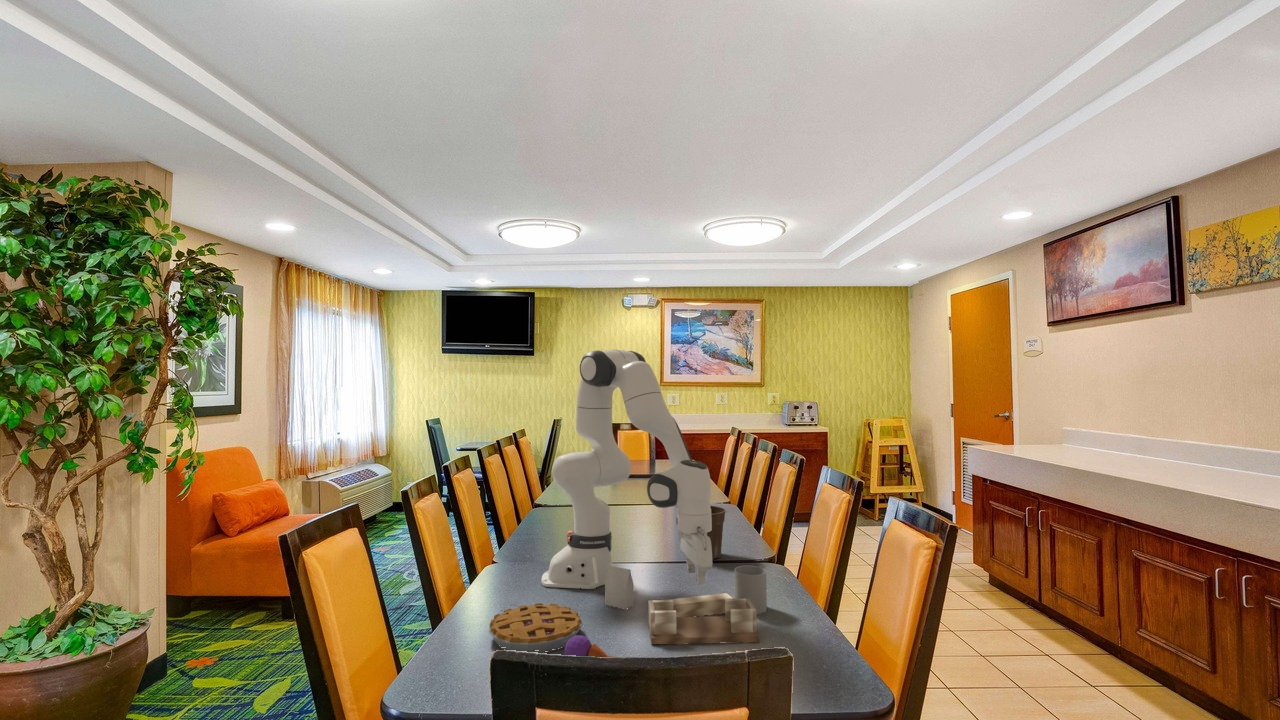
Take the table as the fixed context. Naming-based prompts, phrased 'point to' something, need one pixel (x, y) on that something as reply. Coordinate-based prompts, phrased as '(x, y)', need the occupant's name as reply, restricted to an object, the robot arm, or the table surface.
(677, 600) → the slat
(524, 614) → the pie
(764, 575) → the cup
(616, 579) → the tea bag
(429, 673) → the table surface
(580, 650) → the ice cream cone
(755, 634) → the endcap rack
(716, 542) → the plant pot
